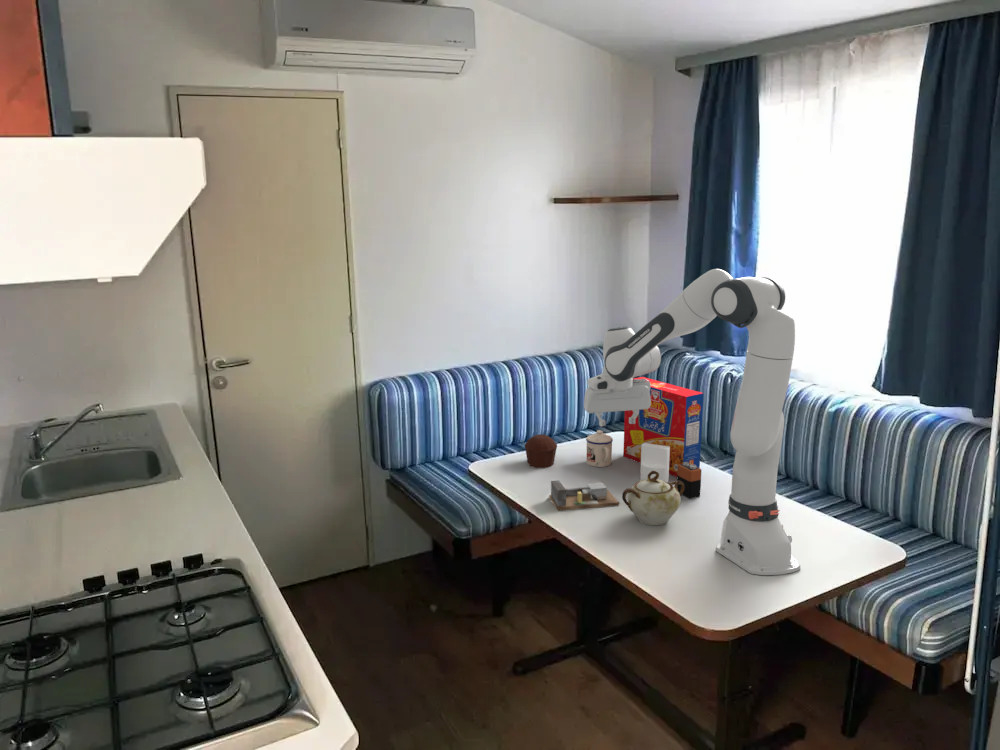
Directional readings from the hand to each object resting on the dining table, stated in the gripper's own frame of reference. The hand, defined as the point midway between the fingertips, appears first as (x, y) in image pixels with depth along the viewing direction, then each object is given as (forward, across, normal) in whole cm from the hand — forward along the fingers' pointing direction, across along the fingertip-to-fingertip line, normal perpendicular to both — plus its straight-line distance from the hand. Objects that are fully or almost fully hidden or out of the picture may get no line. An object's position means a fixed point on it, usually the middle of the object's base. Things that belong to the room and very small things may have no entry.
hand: (617, 424), depth 245 cm
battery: (+24, -22, +3) cm, 33 cm away
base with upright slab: (+24, -16, -10) cm, 30 cm away
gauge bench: (+23, +11, +2) cm, 26 cm away
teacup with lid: (+23, -5, -29) cm, 38 cm away
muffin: (+23, +15, -34) cm, 44 cm away
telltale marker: (+21, +14, +6) cm, 26 cm away
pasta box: (+23, -24, -24) cm, 41 cm away
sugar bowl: (+24, -4, +19) cm, 31 cm away
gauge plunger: (+22, +8, +3) cm, 23 cm away
